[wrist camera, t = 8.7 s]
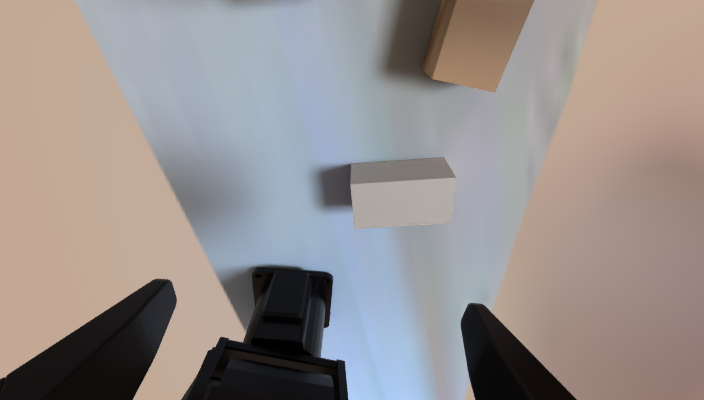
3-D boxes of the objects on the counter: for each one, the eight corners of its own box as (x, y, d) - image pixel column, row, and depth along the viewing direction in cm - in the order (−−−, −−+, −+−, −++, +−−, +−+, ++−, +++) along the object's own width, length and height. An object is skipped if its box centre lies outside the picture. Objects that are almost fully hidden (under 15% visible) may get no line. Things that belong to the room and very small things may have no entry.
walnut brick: (474, 80, 18) (494, 92, 15) (420, 68, 17) (431, 78, 15) (525, -53, 14) (562, -66, 12) (460, -70, 14) (483, -87, 12)
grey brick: (443, 156, 20) (455, 177, 17) (439, 198, 22) (450, 223, 19) (351, 162, 20) (350, 184, 18) (354, 203, 22) (354, 228, 19)
